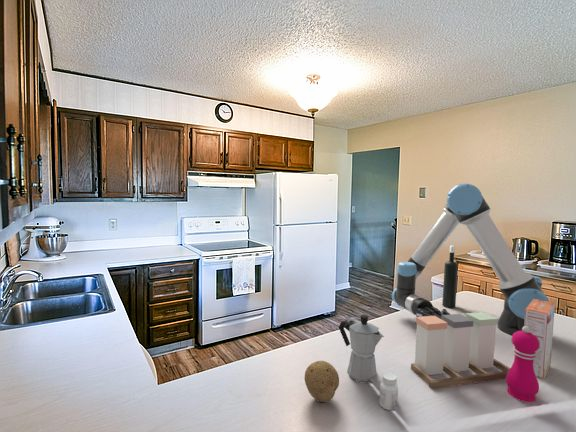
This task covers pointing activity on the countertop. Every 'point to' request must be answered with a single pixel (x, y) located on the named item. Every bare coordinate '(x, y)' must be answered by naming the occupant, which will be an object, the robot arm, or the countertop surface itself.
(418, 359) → the orange lidded canister
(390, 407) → the pill bottle
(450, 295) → the wine bottle
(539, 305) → the cracker box
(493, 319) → the green lidded canister
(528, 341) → the pepper mill
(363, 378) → the coffee maker
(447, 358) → the gray lidded canister
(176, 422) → the countertop surface
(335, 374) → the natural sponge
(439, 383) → the wooden stand
